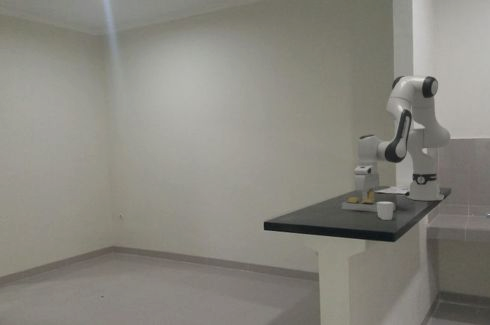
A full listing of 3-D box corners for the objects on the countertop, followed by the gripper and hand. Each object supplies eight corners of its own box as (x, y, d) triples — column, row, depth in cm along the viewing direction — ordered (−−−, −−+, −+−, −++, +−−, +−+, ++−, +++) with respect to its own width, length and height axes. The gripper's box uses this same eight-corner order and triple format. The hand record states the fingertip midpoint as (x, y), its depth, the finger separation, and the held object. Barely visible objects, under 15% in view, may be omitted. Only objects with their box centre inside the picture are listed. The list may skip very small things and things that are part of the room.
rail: (349, 207, 203) (349, 200, 203) (395, 211, 189) (395, 203, 188) (341, 210, 197) (341, 202, 197) (388, 214, 182) (388, 206, 182)
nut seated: (351, 207, 200) (351, 197, 200) (359, 207, 198) (359, 197, 197) (348, 208, 197) (348, 198, 197) (356, 209, 194) (355, 198, 194)
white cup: (393, 220, 169) (393, 203, 169) (376, 219, 171) (376, 203, 171) (393, 217, 175) (393, 201, 175) (377, 216, 178) (376, 201, 177)
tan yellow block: (366, 200, 195) (365, 190, 195) (374, 201, 193) (373, 190, 192) (362, 201, 192) (362, 191, 192) (370, 202, 190) (370, 191, 189)
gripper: (370, 167, 202) (370, 195, 202) (352, 170, 186) (352, 200, 187) (382, 167, 198) (383, 195, 198) (365, 170, 182) (365, 201, 183)
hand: (368, 198), depth 192 cm, fingers closed on tan yellow block, 4 cm apart
